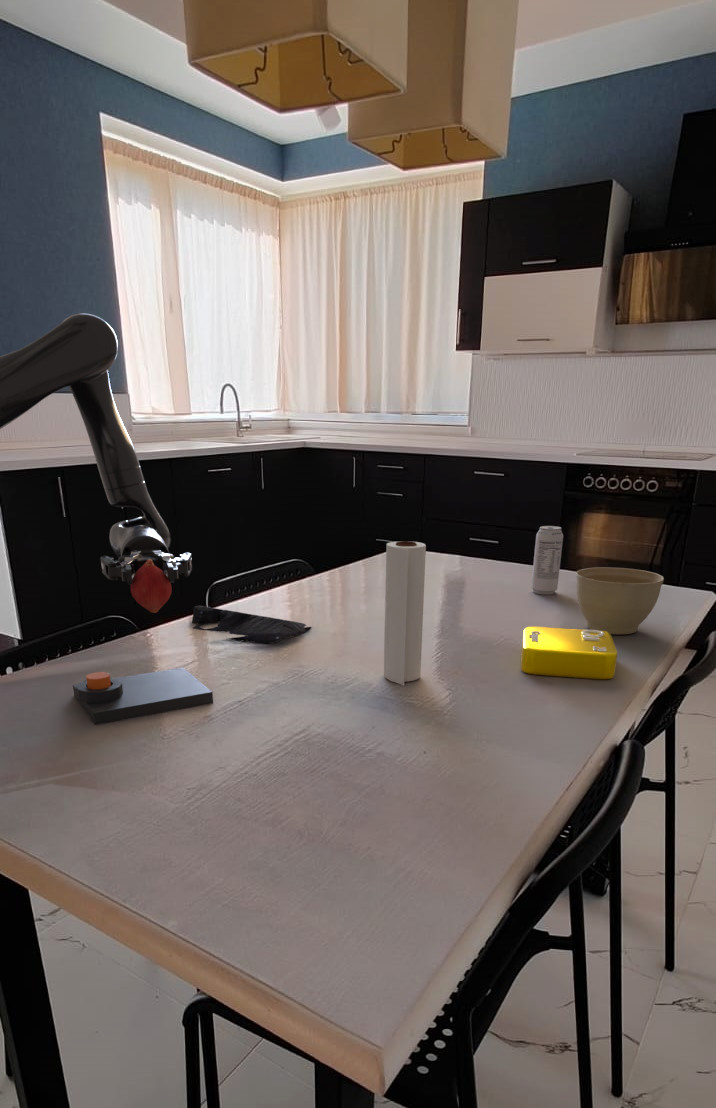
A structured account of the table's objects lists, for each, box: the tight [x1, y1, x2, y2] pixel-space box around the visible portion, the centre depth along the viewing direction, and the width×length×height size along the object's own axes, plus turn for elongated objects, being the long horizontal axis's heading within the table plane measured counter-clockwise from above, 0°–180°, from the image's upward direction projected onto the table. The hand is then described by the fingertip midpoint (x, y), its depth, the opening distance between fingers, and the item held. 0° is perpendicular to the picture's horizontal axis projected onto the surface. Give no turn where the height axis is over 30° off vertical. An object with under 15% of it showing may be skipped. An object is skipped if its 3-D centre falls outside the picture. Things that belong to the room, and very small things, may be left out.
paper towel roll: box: [383, 540, 427, 687], centre depth 120 cm, size 7×6×21 cm
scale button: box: [85, 671, 111, 689], centre depth 110 cm, size 3×3×2 cm
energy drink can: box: [530, 525, 564, 596], centre depth 179 cm, size 6×6×15 cm
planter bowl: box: [575, 566, 665, 635], centre depth 150 cm, size 16×16×11 cm
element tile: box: [520, 625, 618, 681], centre depth 131 cm, size 15×15×5 cm
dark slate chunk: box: [191, 605, 312, 645], centre depth 147 cm, size 15×22×5 cm
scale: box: [72, 667, 214, 726], centre depth 113 cm, size 18×13×4 cm
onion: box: [129, 559, 173, 614], centre depth 114 cm, size 6×6×8 cm
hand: (150, 576), depth 111 cm, fingers closed on onion, 5 cm apart
